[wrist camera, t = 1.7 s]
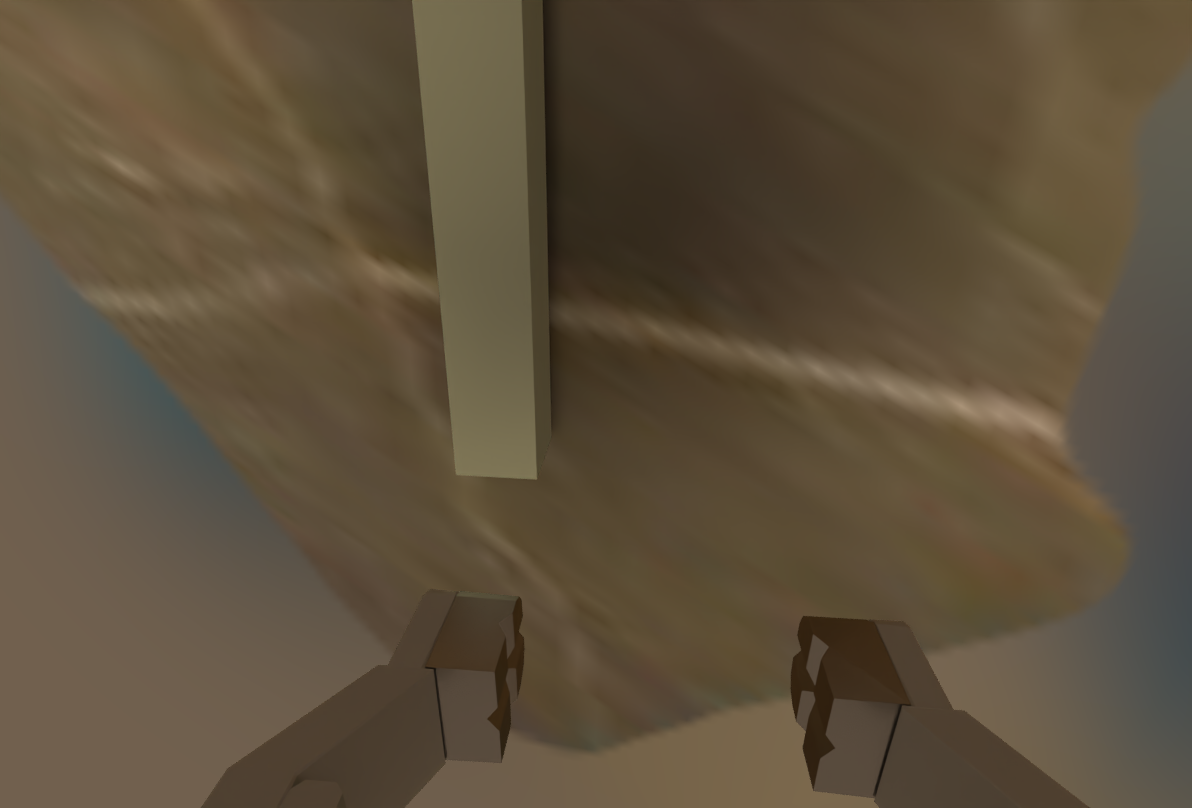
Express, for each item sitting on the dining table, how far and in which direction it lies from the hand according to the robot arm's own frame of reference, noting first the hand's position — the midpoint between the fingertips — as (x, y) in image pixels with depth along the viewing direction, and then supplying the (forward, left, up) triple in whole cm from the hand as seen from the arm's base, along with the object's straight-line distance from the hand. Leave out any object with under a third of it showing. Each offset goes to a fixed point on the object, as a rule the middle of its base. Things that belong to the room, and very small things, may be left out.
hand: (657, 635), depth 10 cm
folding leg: (-5, -7, -19) cm, 21 cm away
